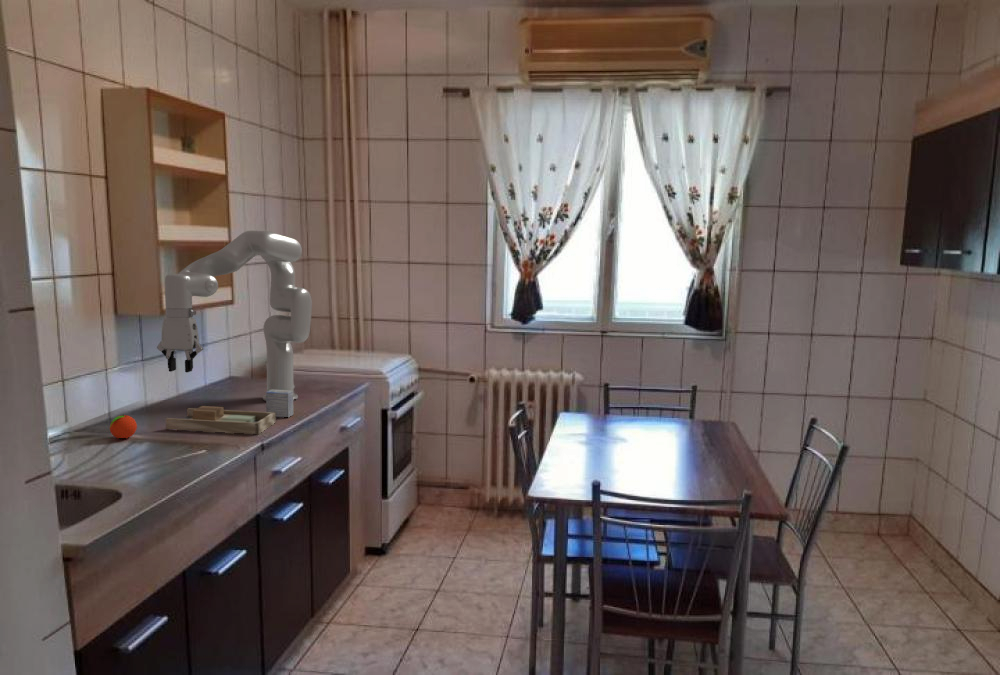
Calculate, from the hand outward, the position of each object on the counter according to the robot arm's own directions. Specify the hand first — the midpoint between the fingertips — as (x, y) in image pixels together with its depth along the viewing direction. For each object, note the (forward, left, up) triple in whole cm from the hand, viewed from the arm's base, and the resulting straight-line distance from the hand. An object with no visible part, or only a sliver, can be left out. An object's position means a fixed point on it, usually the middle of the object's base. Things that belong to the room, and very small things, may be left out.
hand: (180, 370), depth 212 cm
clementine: (+18, -8, -18) cm, 27 cm away
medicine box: (-16, +26, -18) cm, 35 cm away
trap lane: (0, +13, -17) cm, 22 cm away
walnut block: (0, +9, -15) cm, 17 cm away
